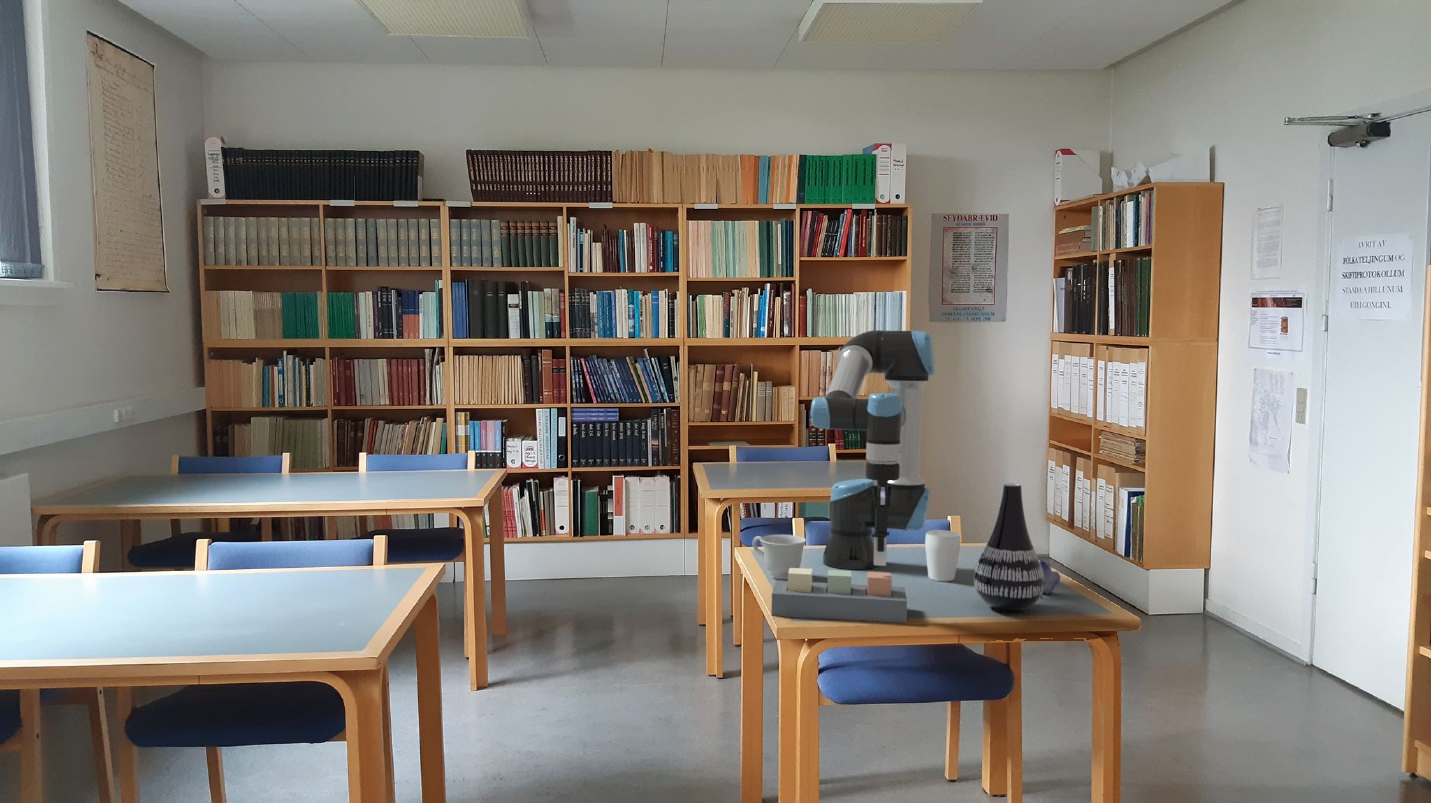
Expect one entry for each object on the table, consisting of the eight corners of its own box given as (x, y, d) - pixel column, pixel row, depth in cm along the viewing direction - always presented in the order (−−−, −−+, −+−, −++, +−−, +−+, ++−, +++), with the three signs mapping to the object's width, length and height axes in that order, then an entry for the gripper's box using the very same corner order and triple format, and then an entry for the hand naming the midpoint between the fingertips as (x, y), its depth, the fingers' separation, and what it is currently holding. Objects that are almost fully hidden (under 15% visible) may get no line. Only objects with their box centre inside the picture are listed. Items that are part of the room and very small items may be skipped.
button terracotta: (867, 605, 222) (867, 577, 221) (866, 599, 227) (867, 571, 227) (890, 607, 221) (891, 578, 221) (889, 600, 226) (890, 573, 226)
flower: (1062, 575, 237) (1049, 549, 245) (1027, 587, 238) (1015, 561, 247) (1071, 601, 241) (1058, 575, 249) (1037, 613, 242) (1026, 586, 251)
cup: (962, 576, 260) (963, 532, 259) (955, 584, 252) (956, 538, 251) (928, 572, 264) (929, 528, 263) (920, 580, 256) (921, 534, 255)
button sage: (827, 603, 223) (827, 575, 223) (827, 597, 228) (828, 569, 228) (850, 604, 222) (851, 576, 222) (850, 598, 228) (851, 570, 227)
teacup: (762, 567, 266) (763, 531, 265) (813, 575, 259) (814, 537, 258) (741, 576, 256) (742, 539, 255) (793, 585, 248) (794, 546, 248)
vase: (1033, 622, 220) (1038, 492, 217) (963, 611, 228) (968, 485, 226) (1050, 606, 233) (1055, 483, 231) (984, 595, 241) (988, 477, 239)
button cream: (787, 601, 224) (788, 573, 224) (788, 595, 230) (789, 567, 229) (810, 602, 224) (811, 574, 223) (811, 596, 229) (812, 568, 228)
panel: (771, 615, 222) (771, 593, 221) (775, 600, 233) (776, 580, 233) (906, 623, 218) (907, 601, 217) (903, 608, 229) (904, 587, 229)
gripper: (901, 466, 215) (897, 572, 216) (898, 458, 228) (895, 559, 229) (866, 464, 216) (863, 570, 217) (865, 457, 229) (862, 557, 230)
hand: (879, 564), depth 223 cm, fingers closed
